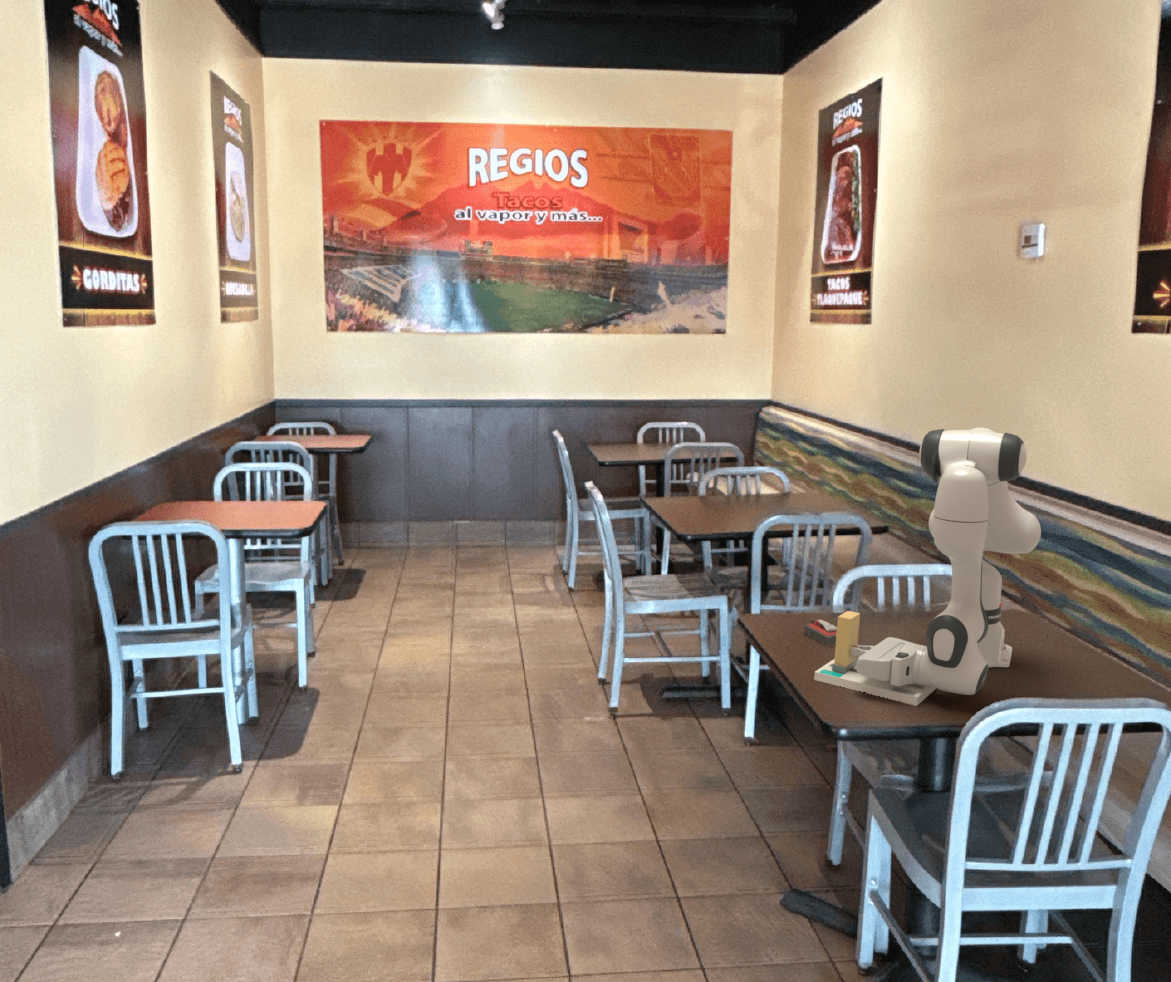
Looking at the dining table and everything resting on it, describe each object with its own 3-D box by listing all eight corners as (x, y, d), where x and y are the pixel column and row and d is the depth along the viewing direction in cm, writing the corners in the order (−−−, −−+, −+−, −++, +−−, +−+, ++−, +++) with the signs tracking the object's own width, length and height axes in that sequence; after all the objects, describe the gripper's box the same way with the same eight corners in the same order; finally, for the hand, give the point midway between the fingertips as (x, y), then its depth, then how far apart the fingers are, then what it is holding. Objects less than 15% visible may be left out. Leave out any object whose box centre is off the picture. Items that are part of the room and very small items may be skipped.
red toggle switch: (858, 647, 267) (815, 623, 286) (860, 630, 267) (816, 608, 285) (829, 650, 264) (787, 626, 283) (830, 633, 263) (788, 610, 282)
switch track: (837, 664, 253) (838, 655, 252) (936, 688, 239) (937, 679, 239) (814, 680, 242) (814, 671, 241) (916, 706, 228) (917, 697, 228)
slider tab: (845, 661, 248) (849, 609, 246) (857, 664, 247) (861, 612, 244) (831, 670, 242) (836, 617, 240) (844, 673, 240) (848, 620, 238)
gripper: (927, 638, 242) (870, 625, 250) (897, 661, 226) (836, 647, 234) (925, 664, 244) (868, 650, 251) (894, 688, 227) (834, 674, 235)
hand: (852, 649), depth 243 cm, fingers closed, pressing on slider tab
